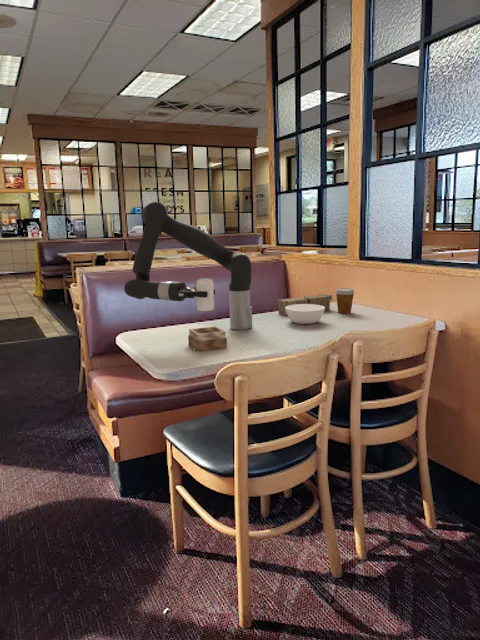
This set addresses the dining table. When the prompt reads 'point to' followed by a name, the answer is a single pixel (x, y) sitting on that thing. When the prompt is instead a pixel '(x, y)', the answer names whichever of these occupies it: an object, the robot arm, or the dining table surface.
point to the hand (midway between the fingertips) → (210, 293)
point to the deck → (207, 344)
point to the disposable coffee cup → (344, 300)
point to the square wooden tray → (207, 333)
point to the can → (205, 302)
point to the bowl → (304, 313)
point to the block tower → (305, 302)
